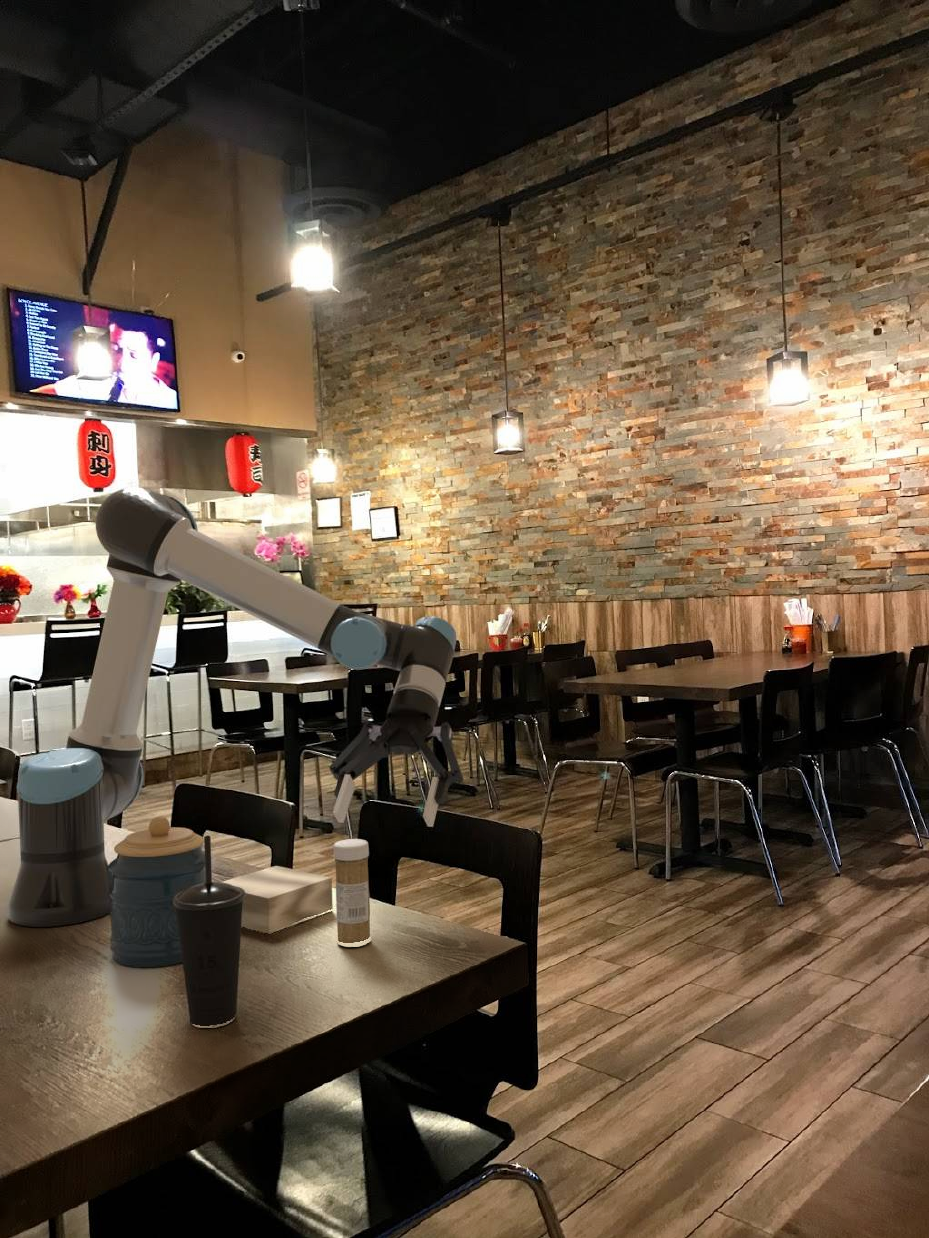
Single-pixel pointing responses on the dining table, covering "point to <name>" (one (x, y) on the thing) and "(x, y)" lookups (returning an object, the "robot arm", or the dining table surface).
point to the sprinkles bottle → (352, 890)
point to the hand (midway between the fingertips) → (382, 819)
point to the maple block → (282, 897)
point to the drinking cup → (210, 946)
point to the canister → (152, 892)
